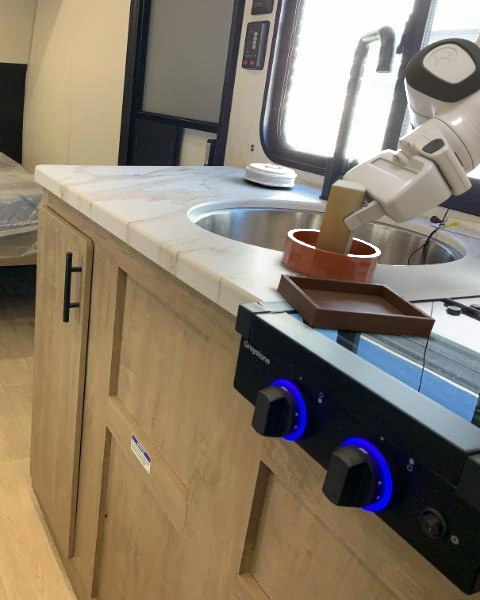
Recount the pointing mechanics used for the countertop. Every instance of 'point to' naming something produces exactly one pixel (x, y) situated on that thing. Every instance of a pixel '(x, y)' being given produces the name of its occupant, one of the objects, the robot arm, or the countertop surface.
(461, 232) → the countertop surface
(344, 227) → the cosmetic box
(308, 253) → the bowl
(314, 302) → the tray
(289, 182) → the lid
